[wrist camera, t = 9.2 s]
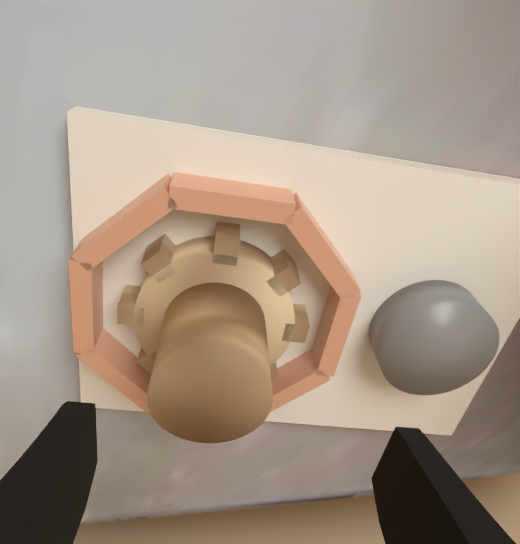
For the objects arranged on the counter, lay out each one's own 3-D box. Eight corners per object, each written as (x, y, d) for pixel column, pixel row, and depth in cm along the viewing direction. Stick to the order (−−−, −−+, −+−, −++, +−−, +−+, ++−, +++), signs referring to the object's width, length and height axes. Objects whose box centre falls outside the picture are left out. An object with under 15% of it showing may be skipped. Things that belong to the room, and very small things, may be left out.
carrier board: (573, 187, 18) (625, 214, 15) (443, 420, 25) (466, 464, 22) (76, 106, 15) (46, 123, 13) (86, 391, 22) (69, 437, 20)
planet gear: (323, 235, 17) (357, 319, 13) (285, 376, 21) (300, 481, 16) (127, 209, 16) (83, 288, 12) (124, 361, 20) (90, 469, 15)
